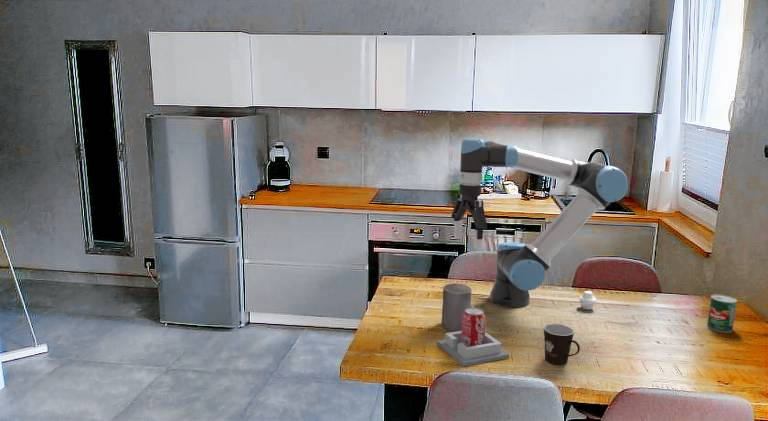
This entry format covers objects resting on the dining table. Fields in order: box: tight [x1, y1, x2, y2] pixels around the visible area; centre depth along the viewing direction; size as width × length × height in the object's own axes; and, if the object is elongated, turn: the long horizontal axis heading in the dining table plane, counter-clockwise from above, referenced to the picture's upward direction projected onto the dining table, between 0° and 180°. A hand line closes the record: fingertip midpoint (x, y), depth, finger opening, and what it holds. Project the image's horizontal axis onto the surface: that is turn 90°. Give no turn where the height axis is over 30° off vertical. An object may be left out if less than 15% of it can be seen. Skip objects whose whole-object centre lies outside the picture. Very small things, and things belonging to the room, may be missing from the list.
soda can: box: [461, 307, 486, 347], centre depth 173 cm, size 7×7×12 cm
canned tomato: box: [706, 293, 738, 334], centre depth 195 cm, size 8×8×11 cm
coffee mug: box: [543, 323, 581, 366], centre depth 167 cm, size 12×9×10 cm
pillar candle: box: [441, 283, 473, 332], centre depth 192 cm, size 10×10×15 cm
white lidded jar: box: [578, 290, 597, 311], centre depth 211 cm, size 6×6×7 cm
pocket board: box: [437, 331, 510, 367], centre depth 174 cm, size 16×16×4 cm
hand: (467, 243), depth 199 cm, fingers open, 13 cm apart
